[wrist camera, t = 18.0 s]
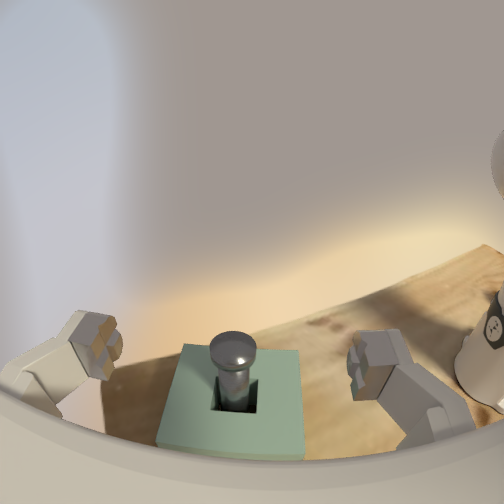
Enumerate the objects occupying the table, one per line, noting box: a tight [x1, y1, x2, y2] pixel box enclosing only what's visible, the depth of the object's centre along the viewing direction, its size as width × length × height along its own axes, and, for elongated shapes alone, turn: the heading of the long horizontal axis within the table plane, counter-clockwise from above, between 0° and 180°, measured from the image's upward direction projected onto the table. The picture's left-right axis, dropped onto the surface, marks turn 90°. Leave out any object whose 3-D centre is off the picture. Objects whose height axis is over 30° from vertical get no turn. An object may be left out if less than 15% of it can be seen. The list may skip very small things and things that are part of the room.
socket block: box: [155, 344, 305, 460], centre depth 32 cm, size 15×15×6 cm
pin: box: [209, 331, 256, 413], centre depth 30 cm, size 4×4×14 cm
